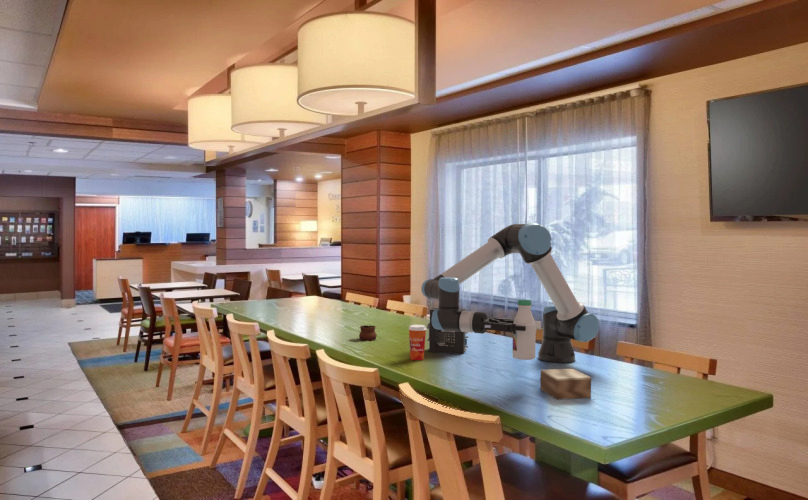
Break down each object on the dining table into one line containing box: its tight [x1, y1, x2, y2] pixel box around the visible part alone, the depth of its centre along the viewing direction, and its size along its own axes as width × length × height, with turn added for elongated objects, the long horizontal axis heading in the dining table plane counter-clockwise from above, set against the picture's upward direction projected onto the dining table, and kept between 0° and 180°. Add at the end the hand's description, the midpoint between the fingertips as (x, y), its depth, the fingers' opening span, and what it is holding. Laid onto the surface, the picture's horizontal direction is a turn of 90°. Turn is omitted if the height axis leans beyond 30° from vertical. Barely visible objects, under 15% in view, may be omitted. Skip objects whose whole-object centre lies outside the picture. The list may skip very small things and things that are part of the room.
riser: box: [540, 368, 592, 400], centre depth 188 cm, size 12×12×7 cm
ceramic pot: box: [349, 325, 378, 342], centre depth 280 cm, size 18×18×7 cm
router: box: [426, 307, 469, 355], centre depth 253 cm, size 8×18×20 cm, turn 78°
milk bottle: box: [512, 299, 537, 361], centre depth 194 cm, size 8×8×20 cm
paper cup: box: [408, 324, 427, 361], centre depth 236 cm, size 8×8×14 cm
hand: (538, 327), depth 192 cm, fingers closed on milk bottle, 7 cm apart
